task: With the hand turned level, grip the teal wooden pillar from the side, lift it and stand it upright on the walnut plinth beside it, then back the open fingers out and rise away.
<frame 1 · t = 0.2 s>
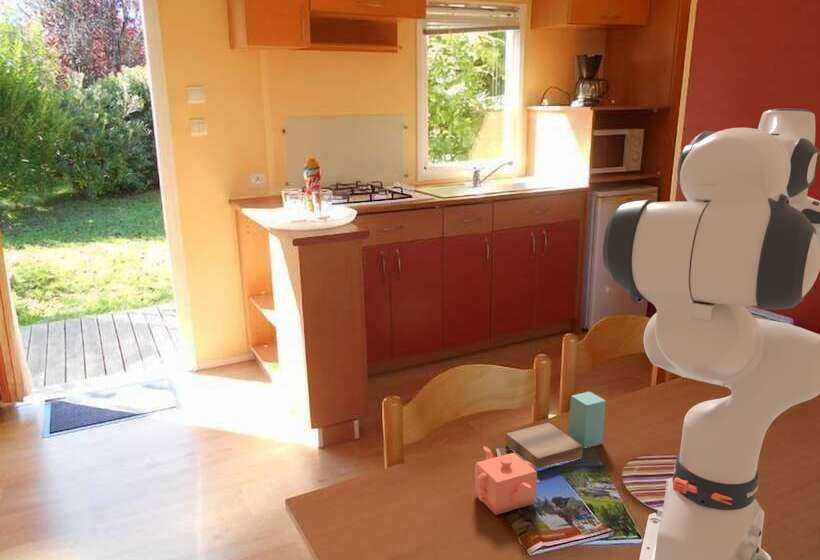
hand: (763, 283, 114), 39 cm above the table, tool pointing down, fingers open, 8 cm apart
walnut plinth: (543, 452, 133), on the table
teal pillar: (584, 441, 138), on the table
teapot: (504, 502, 117), on the table
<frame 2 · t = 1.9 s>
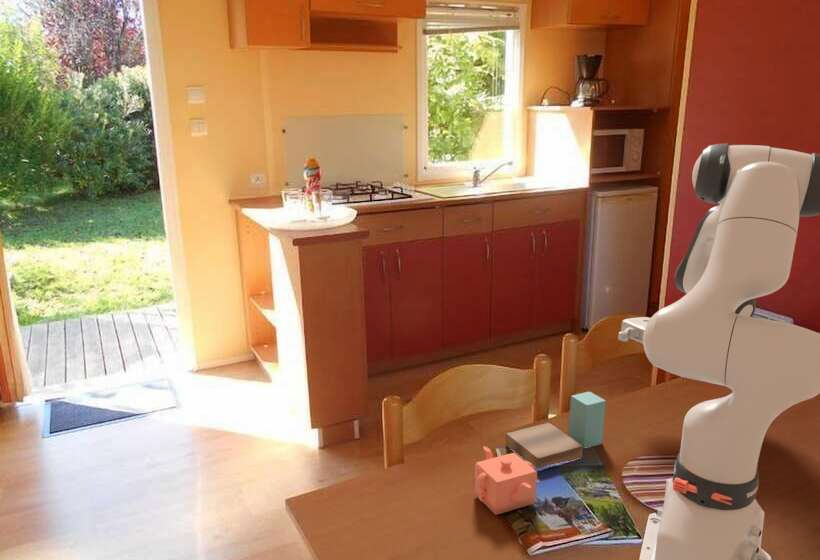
hand: (636, 344, 138), 20 cm above the table, tool horizontal, fingers open, 8 cm apart
nothing on the table moved.
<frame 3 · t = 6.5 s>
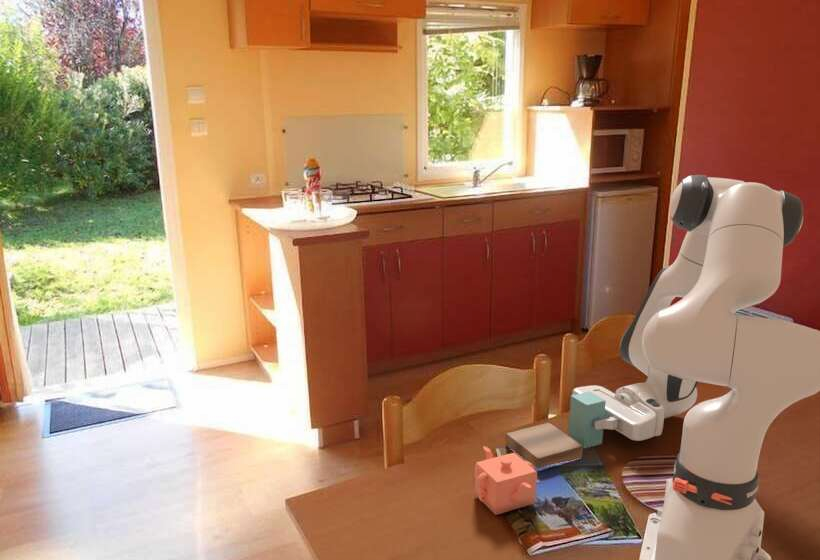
hand: (583, 418, 136), 6 cm above the table, tool horizontal, fingers closed on teal pillar, 5 cm apart
teal pillar: (584, 440, 138), on the table, touching gripper
everything else where it was.
when the fingers open (10 cm above the table, at t = 11.3 s): teal pillar drops 1 cm, resting on walnut plinth.
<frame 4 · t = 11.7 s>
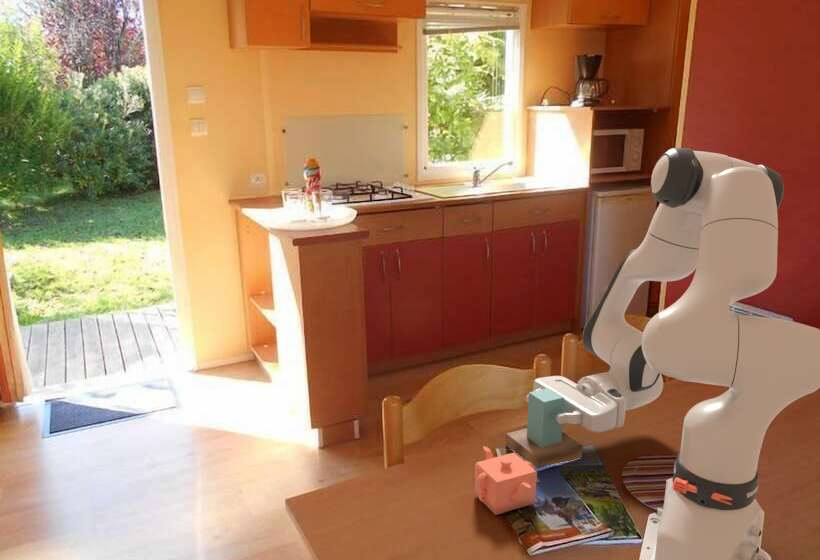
hand: (541, 409, 130), 10 cm above the table, tool horizontal, fingers open, 8 cm apart
teal pillar: (543, 439, 132), point 3 cm above the table, touching walnut plinth
everything else where it was.
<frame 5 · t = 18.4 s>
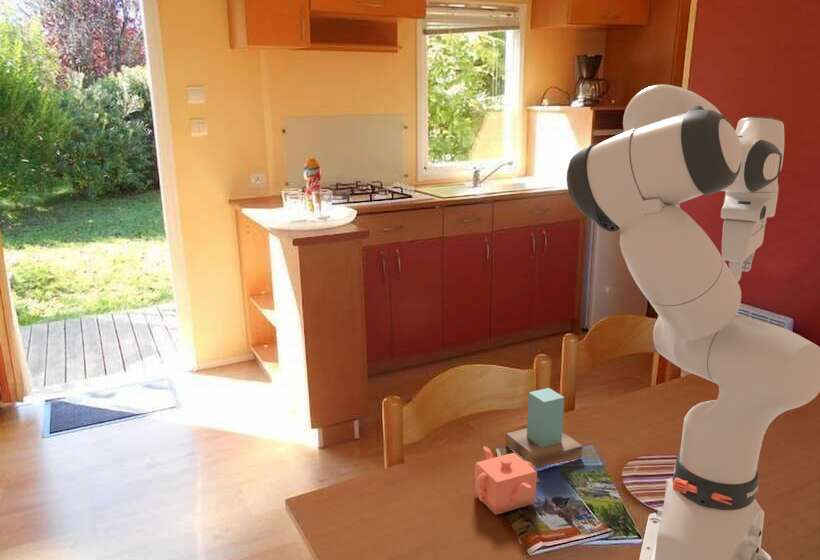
hand: (739, 275, 126), 37 cm above the table, tool pointing down, fingers open, 8 cm apart
nothing on the table moved.
at the end: teal pillar 0.0 cm off-centre on the walnut plinth, point 3.0 cm above the walnut plinth's base; teal pillar tilted 0°; the gripper is holding nothing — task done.
